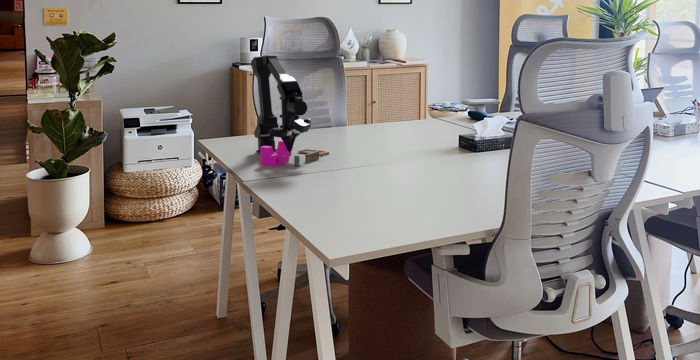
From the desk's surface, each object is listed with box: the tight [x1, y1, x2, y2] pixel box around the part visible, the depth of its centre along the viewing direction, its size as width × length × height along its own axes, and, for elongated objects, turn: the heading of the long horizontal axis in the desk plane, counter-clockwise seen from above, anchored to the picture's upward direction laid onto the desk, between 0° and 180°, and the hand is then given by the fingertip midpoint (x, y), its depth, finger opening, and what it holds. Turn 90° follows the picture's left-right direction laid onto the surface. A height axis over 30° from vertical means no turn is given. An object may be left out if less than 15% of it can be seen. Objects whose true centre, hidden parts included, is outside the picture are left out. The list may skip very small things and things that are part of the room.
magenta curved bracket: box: [259, 140, 290, 168], centre depth 287 cm, size 15×6×8 cm, turn 153°
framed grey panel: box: [289, 148, 330, 168], centre depth 294 cm, size 18×27×4 cm, turn 149°
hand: (289, 151), depth 289 cm, fingers closed
